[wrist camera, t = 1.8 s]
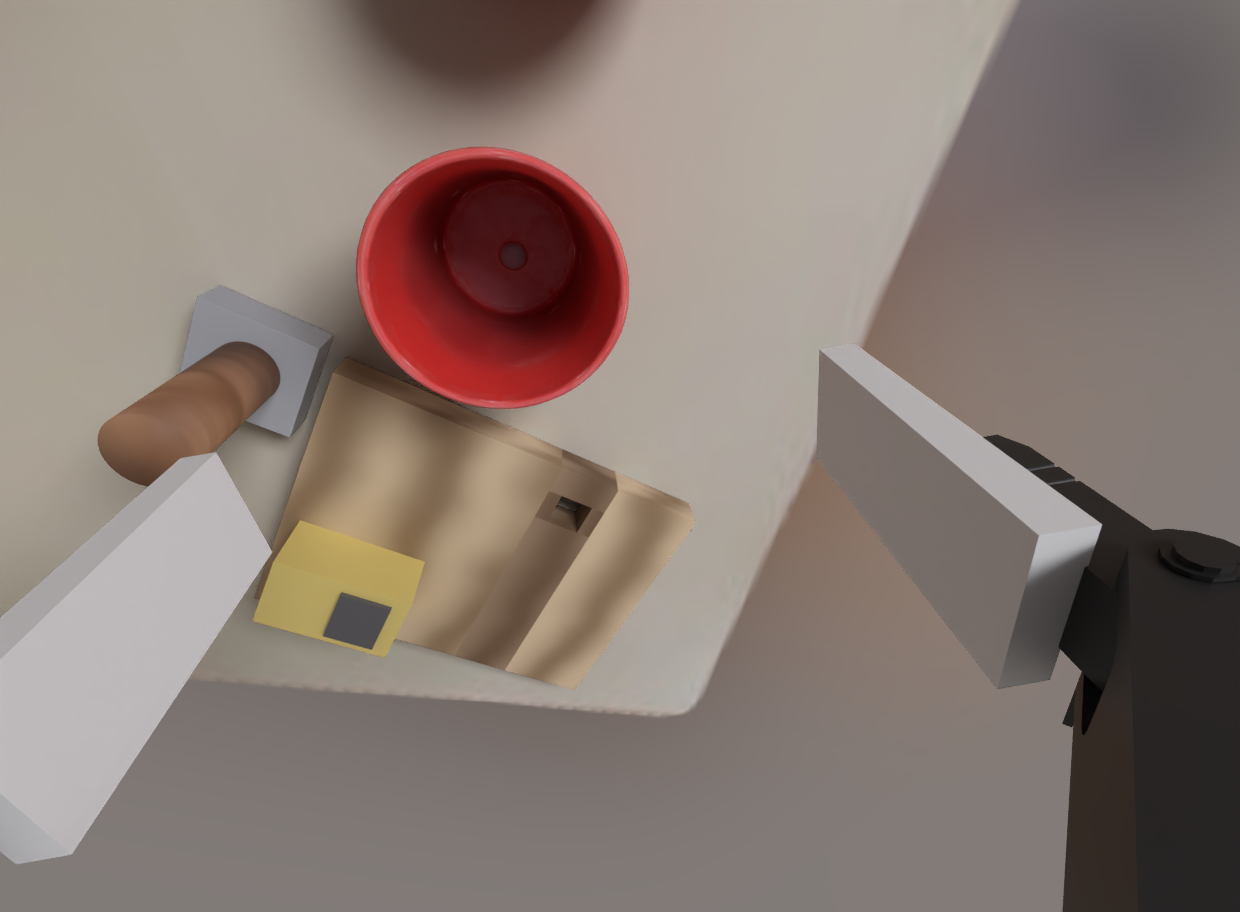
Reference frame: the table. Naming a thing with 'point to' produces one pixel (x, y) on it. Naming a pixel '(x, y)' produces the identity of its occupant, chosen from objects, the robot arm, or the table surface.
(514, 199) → the flower pot
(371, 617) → the block
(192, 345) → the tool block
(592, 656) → the subfloor panel
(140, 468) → the brown rounded cylinder
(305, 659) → the table surface
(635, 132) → the table surface
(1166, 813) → the robot arm
